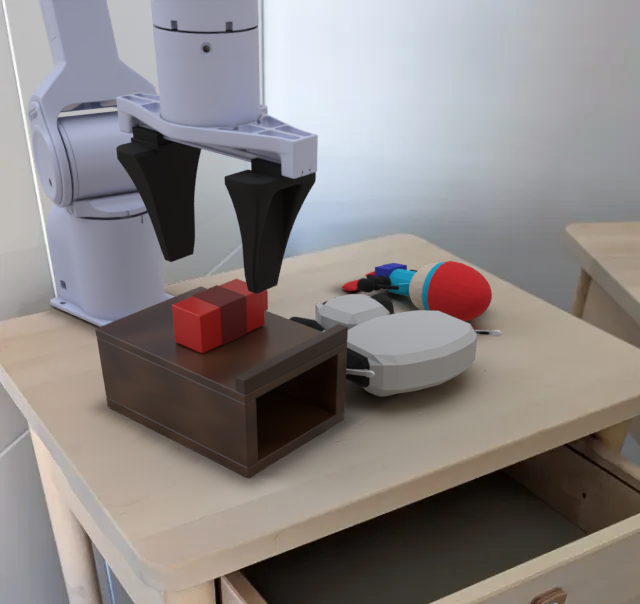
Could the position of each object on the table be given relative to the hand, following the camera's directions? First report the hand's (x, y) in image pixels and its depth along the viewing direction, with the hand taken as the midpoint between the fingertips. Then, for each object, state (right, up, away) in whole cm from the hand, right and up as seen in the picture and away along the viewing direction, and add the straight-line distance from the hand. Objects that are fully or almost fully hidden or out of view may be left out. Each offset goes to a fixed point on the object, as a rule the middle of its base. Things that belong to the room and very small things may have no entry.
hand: (219, 272), depth 55 cm
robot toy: (+11, -3, +12) cm, 17 cm away
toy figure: (+16, +4, +21) cm, 27 cm away
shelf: (0, -8, +6) cm, 10 cm away
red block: (0, -3, +2) cm, 4 cm away
